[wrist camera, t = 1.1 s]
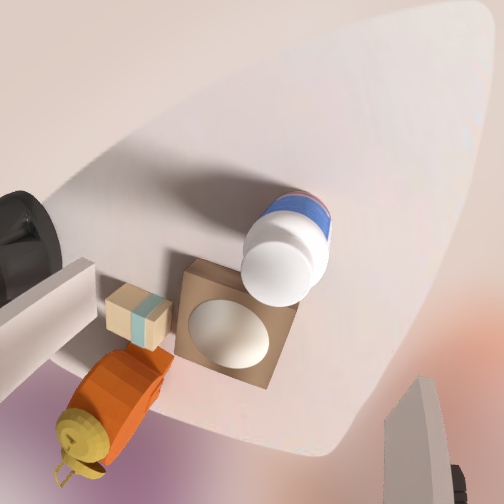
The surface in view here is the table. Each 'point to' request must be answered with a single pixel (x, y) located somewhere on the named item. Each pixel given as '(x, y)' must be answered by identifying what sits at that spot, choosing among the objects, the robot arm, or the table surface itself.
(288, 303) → the pill bottle
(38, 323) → the robot arm
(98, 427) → the alarm clock
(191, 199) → the table surface
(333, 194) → the table surface
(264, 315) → the podium
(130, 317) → the carton
